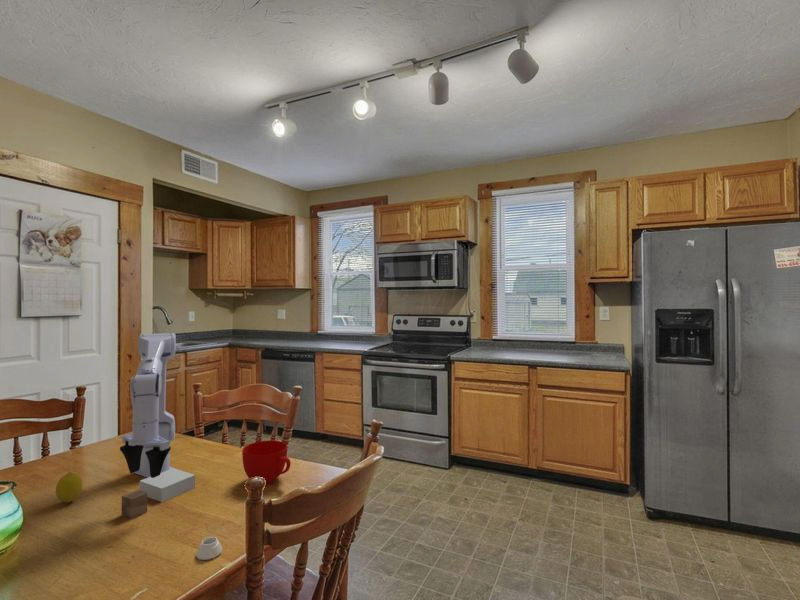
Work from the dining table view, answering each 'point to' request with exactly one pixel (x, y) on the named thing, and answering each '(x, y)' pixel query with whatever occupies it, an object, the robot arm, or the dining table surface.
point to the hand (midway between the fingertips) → (144, 473)
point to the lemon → (69, 487)
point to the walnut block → (134, 504)
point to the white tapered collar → (209, 548)
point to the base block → (167, 484)
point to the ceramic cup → (265, 460)
